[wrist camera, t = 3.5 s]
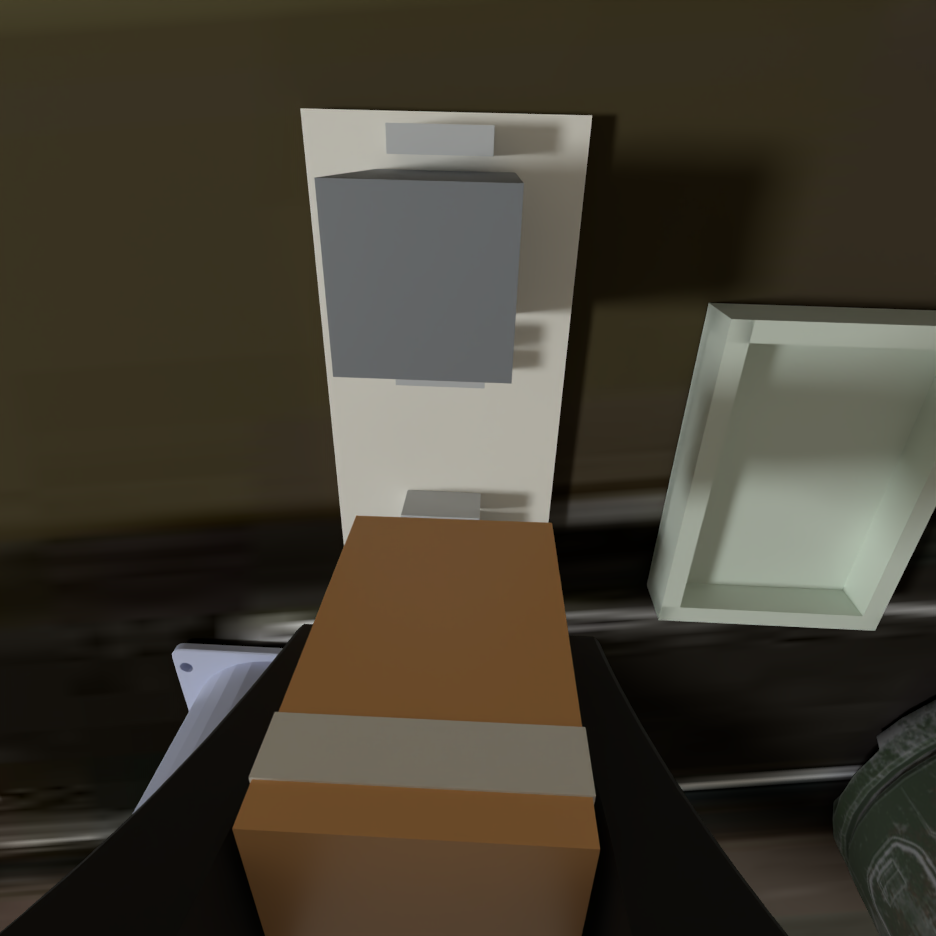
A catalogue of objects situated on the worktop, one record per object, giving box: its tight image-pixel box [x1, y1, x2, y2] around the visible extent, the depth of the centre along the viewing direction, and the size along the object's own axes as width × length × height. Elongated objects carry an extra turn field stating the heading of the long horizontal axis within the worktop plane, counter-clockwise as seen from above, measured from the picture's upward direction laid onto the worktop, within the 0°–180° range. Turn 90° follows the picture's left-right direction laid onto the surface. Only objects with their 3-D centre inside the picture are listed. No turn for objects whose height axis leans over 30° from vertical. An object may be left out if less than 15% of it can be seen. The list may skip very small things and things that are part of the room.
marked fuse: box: [232, 516, 600, 936], centre depth 9 cm, size 4×4×6 cm
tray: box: [647, 303, 936, 631], centre depth 18 cm, size 10×7×2 cm
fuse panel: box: [301, 109, 592, 545], centre depth 16 cm, size 17×7×6 cm, turn 179°
